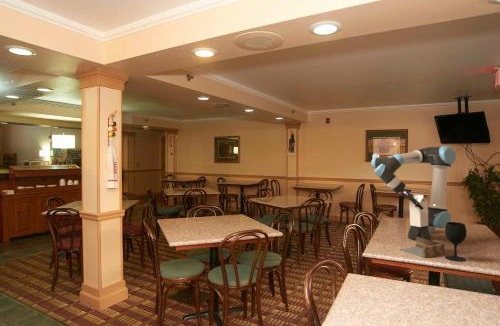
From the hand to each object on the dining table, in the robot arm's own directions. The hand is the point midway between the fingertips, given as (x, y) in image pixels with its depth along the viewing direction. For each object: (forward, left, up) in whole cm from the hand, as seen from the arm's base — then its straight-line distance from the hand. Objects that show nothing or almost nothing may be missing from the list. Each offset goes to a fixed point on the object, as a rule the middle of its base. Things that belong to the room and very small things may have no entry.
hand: (424, 211), depth 197 cm
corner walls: (+1, -2, -25) cm, 25 cm away
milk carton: (+2, -2, -9) cm, 9 cm away
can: (-46, -35, -25) cm, 63 cm away
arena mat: (+2, -2, -25) cm, 25 cm away
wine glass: (-5, +16, -25) cm, 30 cm away
